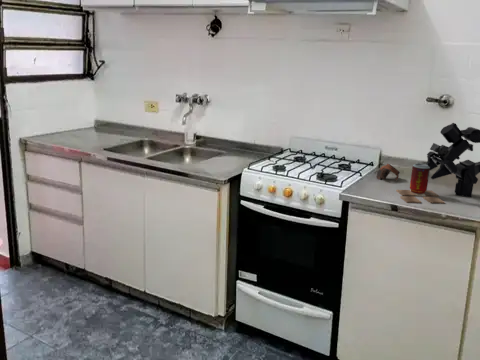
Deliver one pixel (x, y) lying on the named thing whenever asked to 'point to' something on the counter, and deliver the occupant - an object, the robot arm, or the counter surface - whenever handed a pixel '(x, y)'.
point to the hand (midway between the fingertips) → (426, 175)
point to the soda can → (419, 178)
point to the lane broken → (414, 200)
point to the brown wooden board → (409, 193)
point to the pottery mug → (387, 171)
